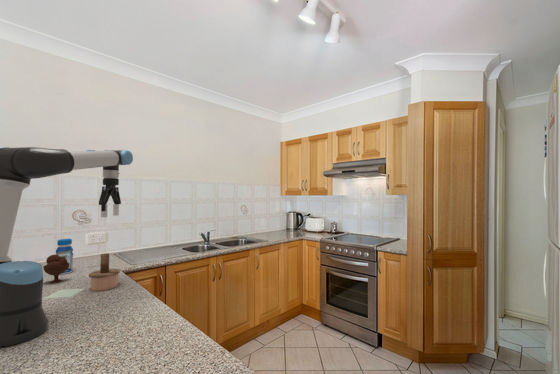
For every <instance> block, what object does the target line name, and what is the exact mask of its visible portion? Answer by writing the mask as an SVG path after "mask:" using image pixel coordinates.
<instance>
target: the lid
mask: <svg viewBox="0 0 560 374" xmlns="http://www.w3.org/2000/svg"><path fill="white" fill-rule="evenodd" d="M99 269H100V270H95V271H92V272H90V273H88V278H90V279H91V278H103V277H109V276H113V275H116V274H118V275H119V274H120V273H121V270H120V269H118V268H110V253H109V252H107V253H101V254H100V267H99Z"/></svg>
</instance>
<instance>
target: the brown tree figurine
mask: <svg viewBox="0 0 560 374" xmlns="http://www.w3.org/2000/svg"><path fill="white" fill-rule="evenodd" d="M45 261H46V264H45V265H43V266H42V269H43V271H44V273H46V274H47V275H48V276H53V278H54V279H52V280H51V281H50V282H49V284H57V283H60V282H63V280H62V279H60V278H59V276H60V275H62V274H61V273H63V272H65V271H66V270H67V269H68V267H69V264H70V263H69V262H67V259H66V258H64V257H61V256H59V255H56V254H51V255H49V256H47V258H46V260H45Z"/></svg>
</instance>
